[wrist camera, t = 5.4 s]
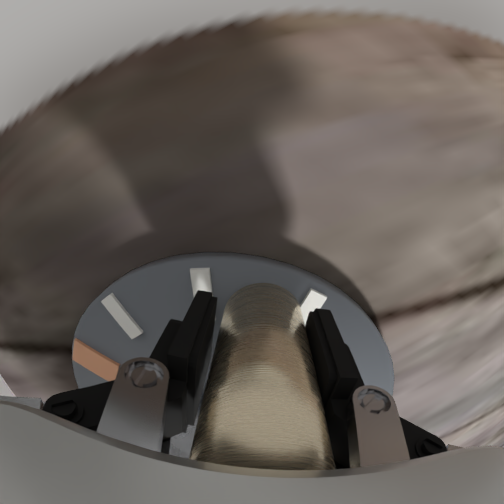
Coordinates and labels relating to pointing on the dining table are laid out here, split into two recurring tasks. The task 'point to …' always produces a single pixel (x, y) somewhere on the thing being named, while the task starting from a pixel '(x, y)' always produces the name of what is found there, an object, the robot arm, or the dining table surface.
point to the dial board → (223, 287)
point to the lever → (260, 390)
